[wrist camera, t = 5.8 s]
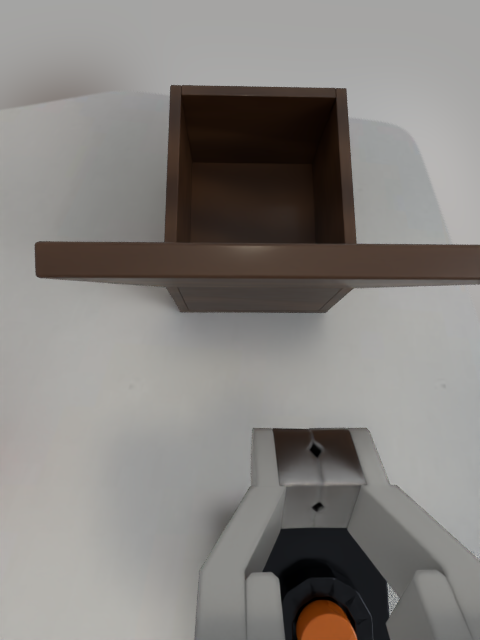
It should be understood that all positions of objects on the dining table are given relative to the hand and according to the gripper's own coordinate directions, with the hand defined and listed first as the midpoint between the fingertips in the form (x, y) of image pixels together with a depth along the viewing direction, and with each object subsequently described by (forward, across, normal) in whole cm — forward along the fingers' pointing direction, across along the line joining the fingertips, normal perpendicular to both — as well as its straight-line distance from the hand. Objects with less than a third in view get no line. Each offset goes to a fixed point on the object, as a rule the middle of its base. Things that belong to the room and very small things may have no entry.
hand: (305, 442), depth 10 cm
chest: (+26, 0, +4) cm, 27 cm away
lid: (+8, 0, -1) cm, 8 cm away
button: (+3, -4, +23) cm, 23 cm away
